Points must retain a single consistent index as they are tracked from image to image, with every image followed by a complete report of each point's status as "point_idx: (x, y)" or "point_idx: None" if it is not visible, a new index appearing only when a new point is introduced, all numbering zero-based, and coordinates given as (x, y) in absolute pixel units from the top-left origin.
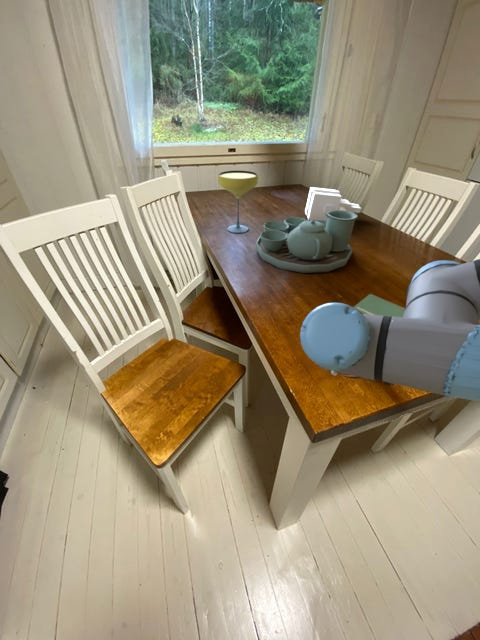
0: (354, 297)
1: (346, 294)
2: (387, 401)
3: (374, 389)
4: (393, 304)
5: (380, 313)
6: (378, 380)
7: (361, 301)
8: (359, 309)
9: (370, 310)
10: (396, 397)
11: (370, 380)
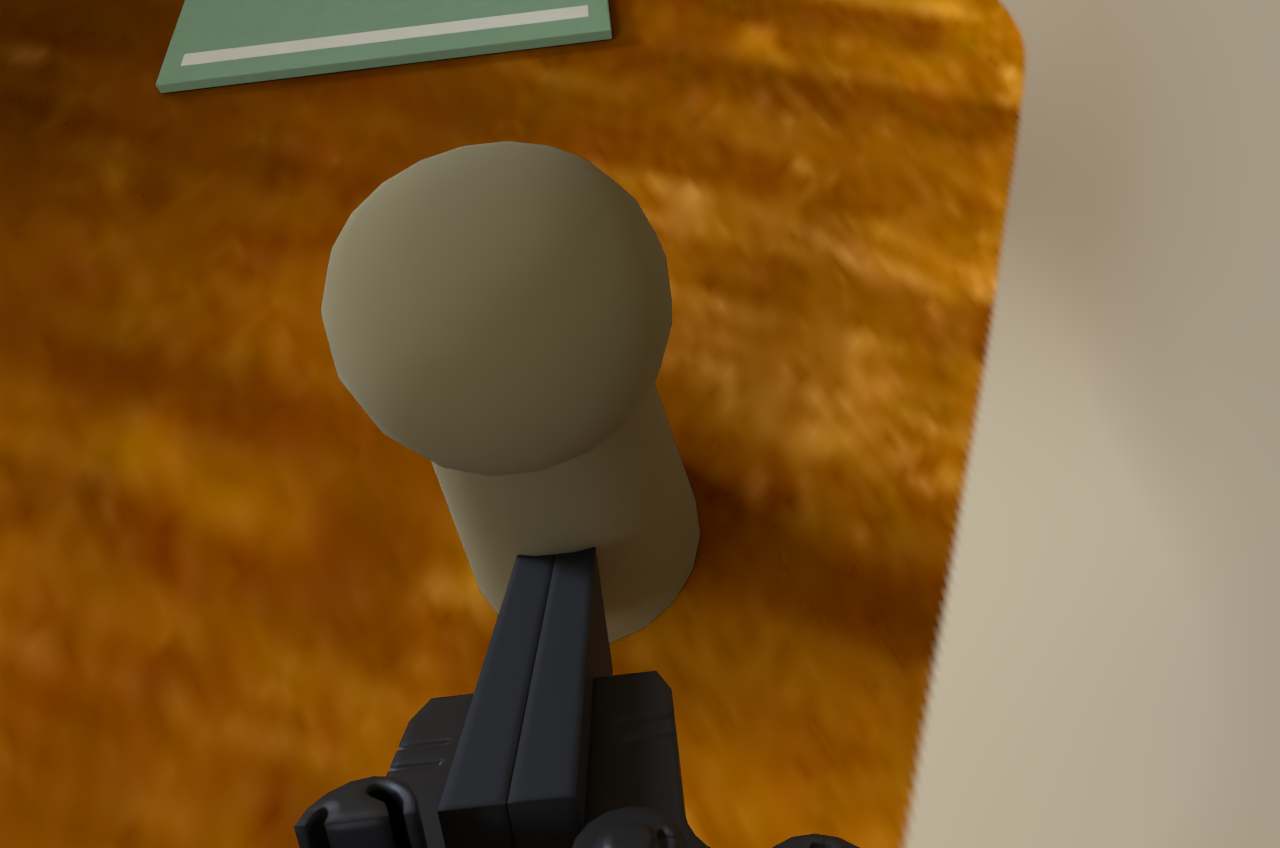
0: (134, 4)
1: (71, 16)
2: (889, 715)
3: (731, 685)
4: None
5: (349, 6)
6: (693, 561)
7: (189, 1)
8: (207, 64)
9: (279, 25)
10: (901, 602)
11: (648, 623)
